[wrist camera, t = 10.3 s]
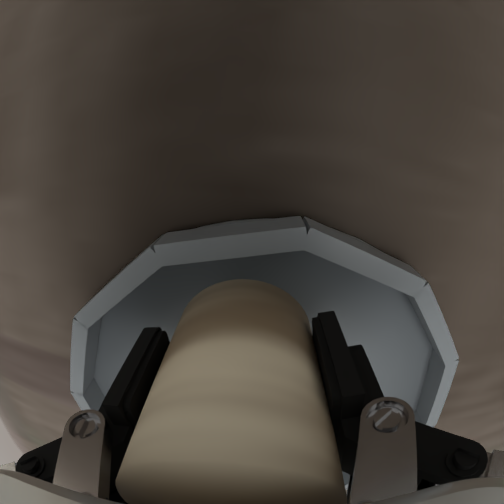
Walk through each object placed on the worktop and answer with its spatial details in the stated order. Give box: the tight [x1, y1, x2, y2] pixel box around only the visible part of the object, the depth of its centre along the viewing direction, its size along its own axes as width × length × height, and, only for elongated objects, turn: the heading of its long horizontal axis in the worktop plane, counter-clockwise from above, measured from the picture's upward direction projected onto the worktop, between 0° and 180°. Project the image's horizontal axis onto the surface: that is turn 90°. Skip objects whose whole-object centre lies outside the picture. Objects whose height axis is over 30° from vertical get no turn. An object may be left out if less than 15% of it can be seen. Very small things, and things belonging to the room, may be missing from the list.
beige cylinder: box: [115, 279, 347, 504], centre depth 8 cm, size 5×5×7 cm
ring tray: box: [70, 216, 459, 490], centre depth 15 cm, size 20×20×2 cm
